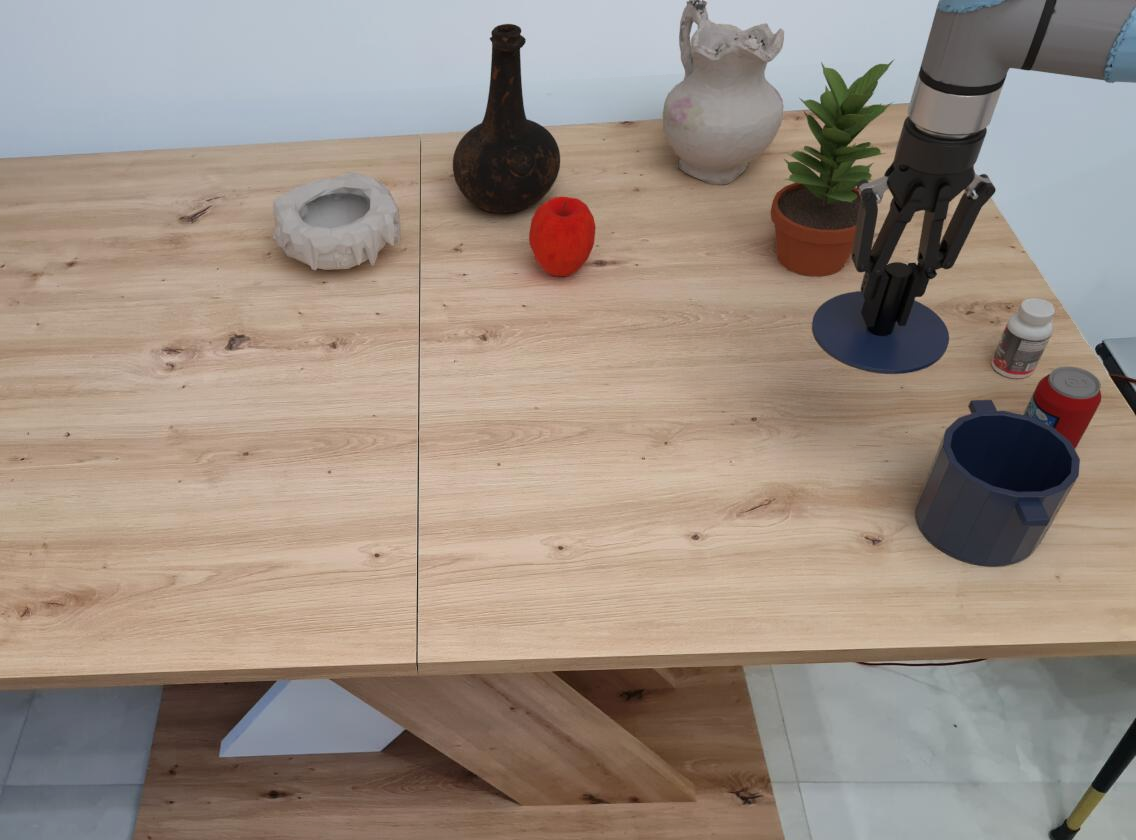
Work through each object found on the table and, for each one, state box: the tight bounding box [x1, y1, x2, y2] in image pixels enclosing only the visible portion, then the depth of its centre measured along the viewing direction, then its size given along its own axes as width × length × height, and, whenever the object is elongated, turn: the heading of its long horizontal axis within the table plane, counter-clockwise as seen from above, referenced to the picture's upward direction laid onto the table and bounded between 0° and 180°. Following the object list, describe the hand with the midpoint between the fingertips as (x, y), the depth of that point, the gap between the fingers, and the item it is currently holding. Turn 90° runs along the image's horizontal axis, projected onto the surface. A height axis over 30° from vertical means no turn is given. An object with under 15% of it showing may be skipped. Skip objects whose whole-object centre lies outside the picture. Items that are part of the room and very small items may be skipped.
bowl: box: [272, 171, 401, 271], centre depth 167 cm, size 21×20×10 cm
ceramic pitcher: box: [662, 0, 785, 186], centre depth 172 cm, size 22×20×25 cm
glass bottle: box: [452, 23, 561, 214], centre depth 168 cm, size 18×18×28 cm
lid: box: [811, 261, 950, 375], centre depth 118 cm, size 15×15×9 cm
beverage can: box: [1022, 366, 1102, 450], centre depth 125 cm, size 7×7×12 cm
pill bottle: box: [990, 297, 1056, 379], centre depth 137 cm, size 5×5×10 cm
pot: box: [914, 399, 1081, 568], centre depth 119 cm, size 14×19×12 cm
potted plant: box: [770, 59, 895, 277], centre depth 149 cm, size 15×15×30 cm
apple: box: [528, 196, 597, 277], centre depth 158 cm, size 10×10×12 cm
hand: (883, 318), depth 119 cm, fingers closed on lid, 3 cm apart
